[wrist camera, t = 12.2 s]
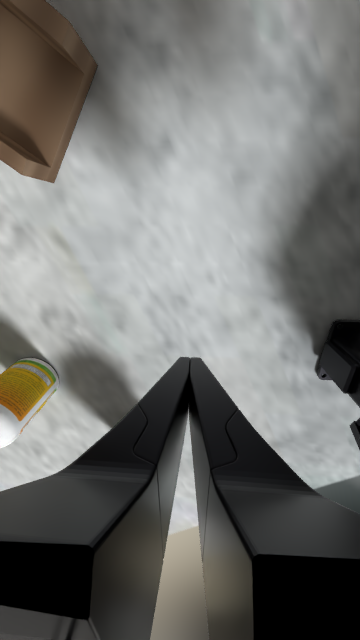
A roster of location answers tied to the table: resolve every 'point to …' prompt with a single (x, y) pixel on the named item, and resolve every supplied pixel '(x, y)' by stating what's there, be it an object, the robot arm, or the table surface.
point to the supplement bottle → (23, 395)
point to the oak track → (39, 86)
